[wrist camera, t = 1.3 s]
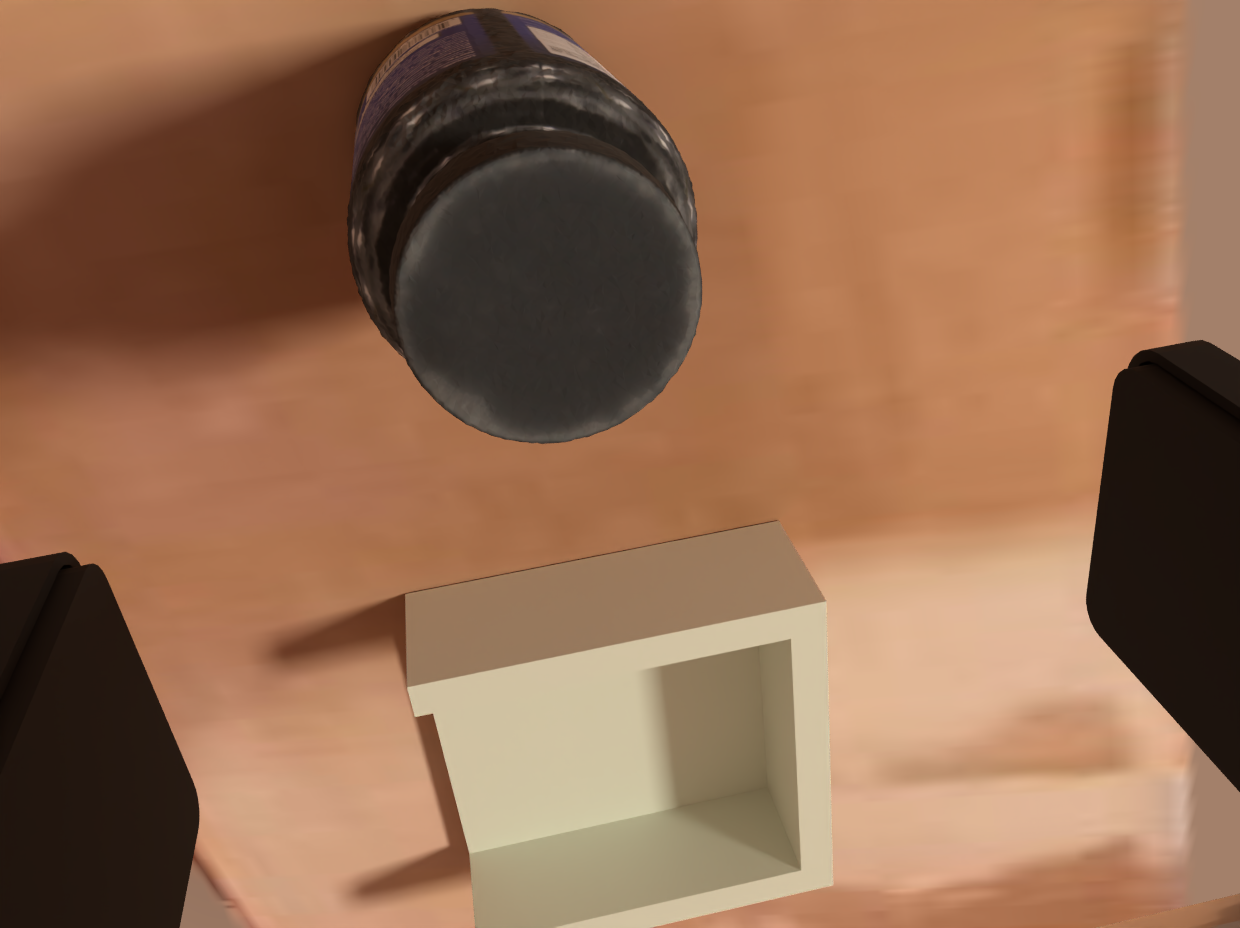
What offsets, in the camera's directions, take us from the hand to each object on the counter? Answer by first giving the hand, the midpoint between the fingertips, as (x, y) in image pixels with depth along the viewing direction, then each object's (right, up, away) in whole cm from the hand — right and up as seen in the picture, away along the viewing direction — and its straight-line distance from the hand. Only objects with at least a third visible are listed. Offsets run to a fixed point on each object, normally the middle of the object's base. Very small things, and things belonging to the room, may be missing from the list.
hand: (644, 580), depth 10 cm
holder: (0, -6, +24) cm, 25 cm away
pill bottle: (-3, +9, +16) cm, 18 cm away
